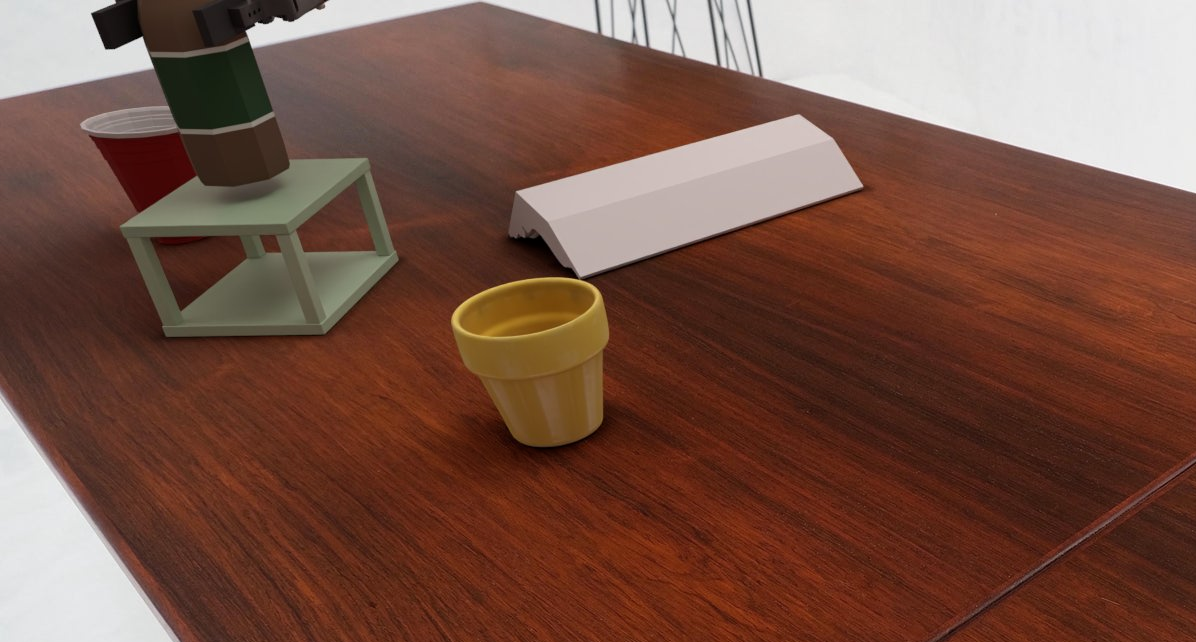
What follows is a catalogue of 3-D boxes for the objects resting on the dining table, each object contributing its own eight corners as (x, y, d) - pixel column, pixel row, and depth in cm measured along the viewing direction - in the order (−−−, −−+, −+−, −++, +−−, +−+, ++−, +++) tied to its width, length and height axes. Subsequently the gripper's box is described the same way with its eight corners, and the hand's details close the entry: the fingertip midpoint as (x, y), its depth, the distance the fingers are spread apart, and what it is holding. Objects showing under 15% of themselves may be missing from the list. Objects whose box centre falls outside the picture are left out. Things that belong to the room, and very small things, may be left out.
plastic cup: (265, 229, 131) (222, 111, 124) (153, 263, 124) (101, 140, 118) (223, 206, 137) (180, 92, 130) (114, 236, 131) (63, 118, 124)
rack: (165, 337, 110) (118, 226, 105) (256, 262, 124) (219, 160, 118) (324, 334, 110) (285, 223, 104) (399, 260, 123) (368, 157, 117)
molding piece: (565, 330, 126) (580, 277, 117) (508, 232, 127) (518, 173, 119) (833, 238, 143) (863, 186, 135) (780, 153, 144) (807, 96, 136)
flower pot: (478, 410, 98) (443, 291, 92) (613, 381, 101) (588, 264, 96) (492, 475, 90) (456, 350, 85) (639, 441, 93) (614, 318, 88)
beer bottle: (312, 166, 111) (210, -144, 98) (228, 194, 106) (108, -129, 92) (259, 152, 115) (153, -148, 101) (175, 179, 109) (52, -134, 96)
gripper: (411, 7, 119) (296, 76, 101) (200, 12, 120) (47, 82, 101) (387, -81, 115) (263, -26, 96) (169, -75, 116) (3, -18, 97)
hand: (153, 30), depth 99 cm, fingers closed on beer bottle, 7 cm apart
